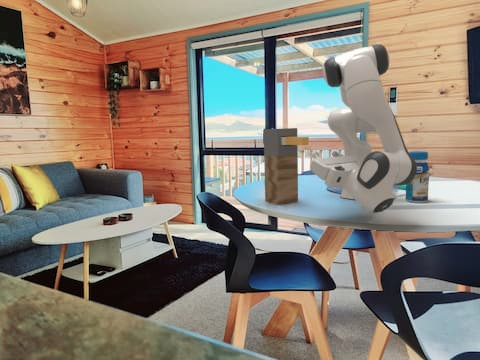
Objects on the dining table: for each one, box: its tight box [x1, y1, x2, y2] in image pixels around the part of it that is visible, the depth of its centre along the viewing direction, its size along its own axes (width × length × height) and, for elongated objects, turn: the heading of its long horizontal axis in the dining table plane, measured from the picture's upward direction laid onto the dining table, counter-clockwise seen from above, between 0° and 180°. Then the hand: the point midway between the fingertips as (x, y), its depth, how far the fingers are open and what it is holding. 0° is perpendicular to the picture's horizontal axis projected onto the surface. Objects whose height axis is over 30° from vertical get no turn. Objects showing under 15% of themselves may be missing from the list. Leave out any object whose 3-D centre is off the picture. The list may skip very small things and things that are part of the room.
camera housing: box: [263, 127, 299, 156], centre depth 145 cm, size 10×10×11 cm
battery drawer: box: [281, 136, 309, 146], centre depth 139 cm, size 18×6×3 cm, turn 29°
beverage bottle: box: [405, 150, 431, 204], centre depth 139 cm, size 8×8×20 cm
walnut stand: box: [263, 154, 299, 206], centre depth 147 cm, size 10×10×20 cm
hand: (323, 153), depth 123 cm, fingers open, 8 cm apart
